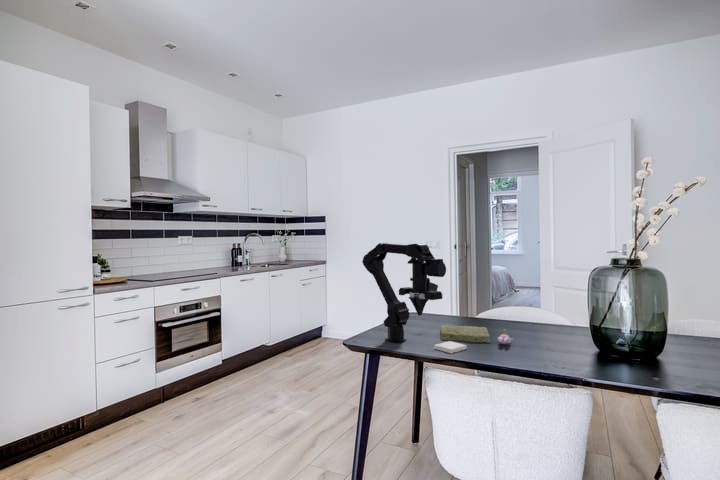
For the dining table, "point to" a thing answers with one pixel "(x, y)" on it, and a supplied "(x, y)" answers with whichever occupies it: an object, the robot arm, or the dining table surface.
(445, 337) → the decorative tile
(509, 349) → the dining table surface
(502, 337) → the pink bulbous piece
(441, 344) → the standing tile
